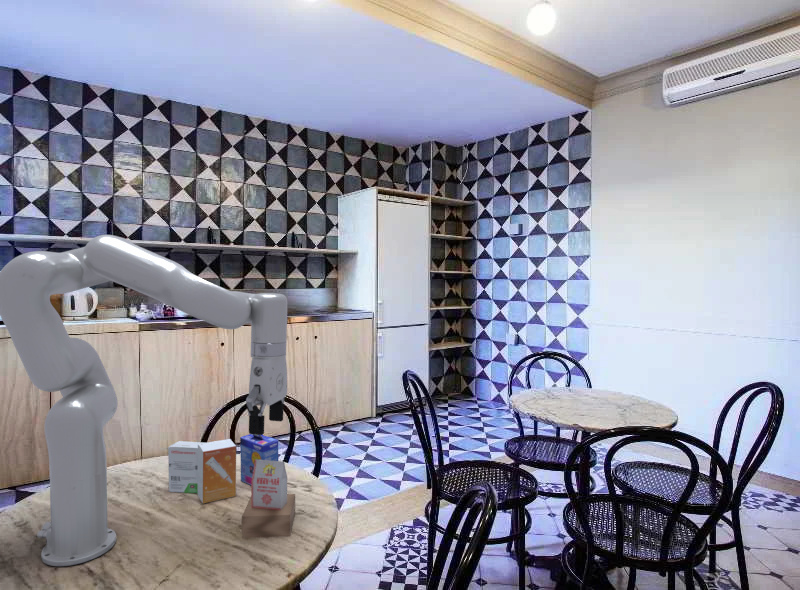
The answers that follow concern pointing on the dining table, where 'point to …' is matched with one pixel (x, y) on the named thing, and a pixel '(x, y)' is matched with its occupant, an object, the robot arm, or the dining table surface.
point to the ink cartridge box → (256, 453)
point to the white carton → (269, 485)
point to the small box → (216, 470)
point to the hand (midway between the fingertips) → (266, 427)
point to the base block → (268, 520)
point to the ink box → (183, 467)
